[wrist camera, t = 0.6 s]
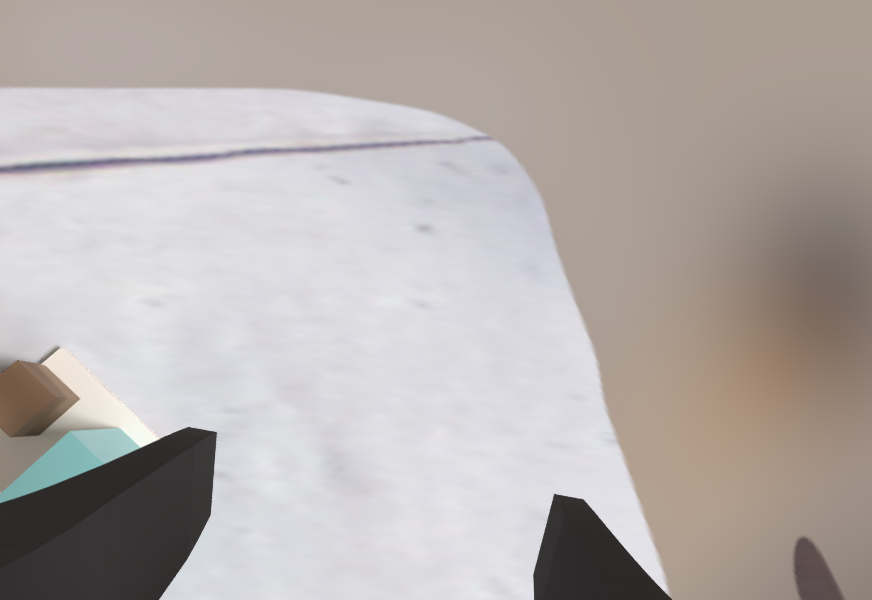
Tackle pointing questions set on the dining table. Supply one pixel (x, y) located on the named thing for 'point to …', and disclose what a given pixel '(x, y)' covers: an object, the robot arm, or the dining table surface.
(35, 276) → the dining table surface
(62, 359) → the board
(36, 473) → the teal block
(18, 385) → the tan block
